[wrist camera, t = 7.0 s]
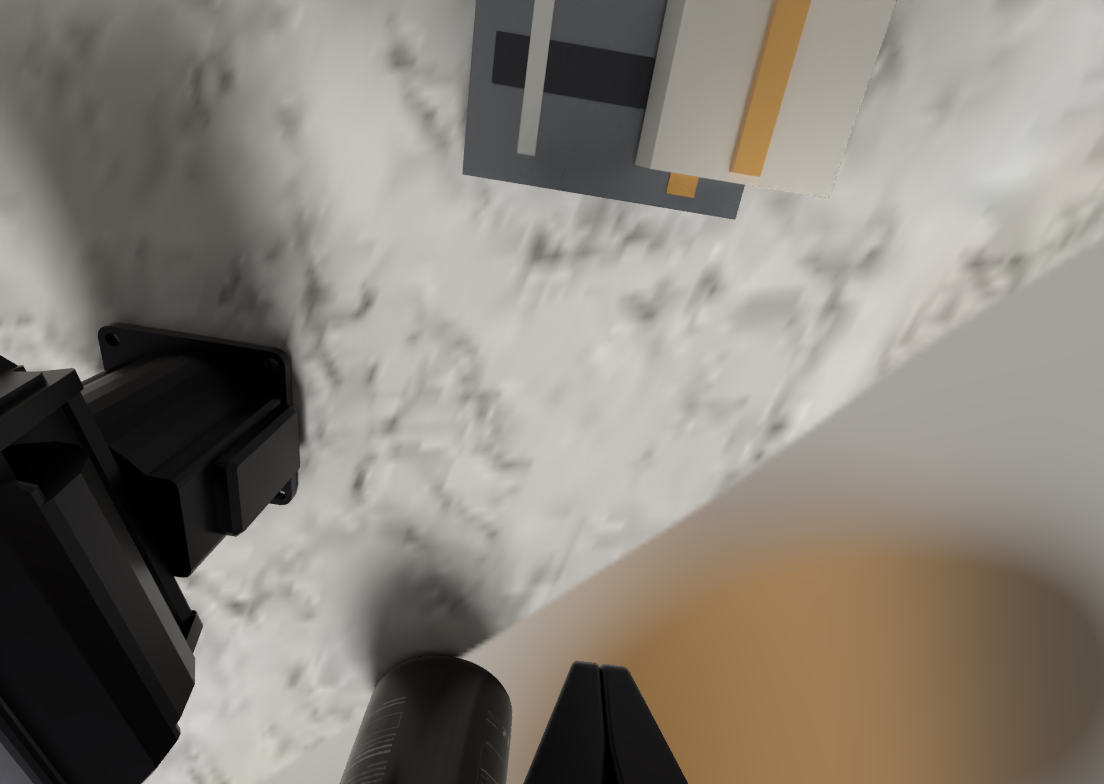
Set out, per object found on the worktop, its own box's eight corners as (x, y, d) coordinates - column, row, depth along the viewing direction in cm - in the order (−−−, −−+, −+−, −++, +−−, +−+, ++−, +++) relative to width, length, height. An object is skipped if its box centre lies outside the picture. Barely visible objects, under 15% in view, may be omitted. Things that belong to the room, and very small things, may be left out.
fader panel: (469, 172, 17) (461, 174, 16) (490, -71, 14) (482, -91, 13) (725, 215, 17) (736, 219, 16) (788, -19, 15) (807, -34, 13)
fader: (635, 164, 15) (651, 169, 12) (669, -9, 13) (700, -64, 10) (776, 188, 15) (834, 199, 12) (827, 19, 14) (912, -26, 10)
